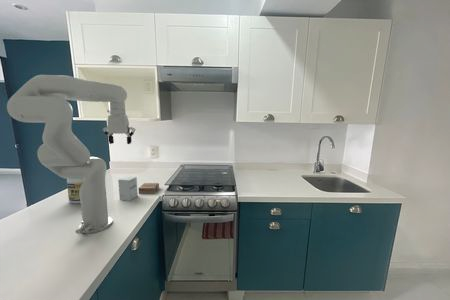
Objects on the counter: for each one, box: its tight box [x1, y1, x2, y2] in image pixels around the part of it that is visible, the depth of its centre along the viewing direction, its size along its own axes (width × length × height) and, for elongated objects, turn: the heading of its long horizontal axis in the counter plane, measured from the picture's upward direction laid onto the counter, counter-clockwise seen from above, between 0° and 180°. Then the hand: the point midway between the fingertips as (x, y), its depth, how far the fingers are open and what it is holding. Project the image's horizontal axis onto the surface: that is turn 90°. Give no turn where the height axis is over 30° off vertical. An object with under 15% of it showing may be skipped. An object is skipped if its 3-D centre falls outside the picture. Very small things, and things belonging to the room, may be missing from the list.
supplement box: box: [118, 175, 139, 202], centre depth 116 cm, size 7×7×13 cm
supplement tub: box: [66, 179, 84, 204], centre depth 112 cm, size 12×12×17 cm
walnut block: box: [137, 182, 160, 195], centre depth 128 cm, size 10×10×4 cm
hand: (120, 143), depth 106 cm, fingers open, 9 cm apart
